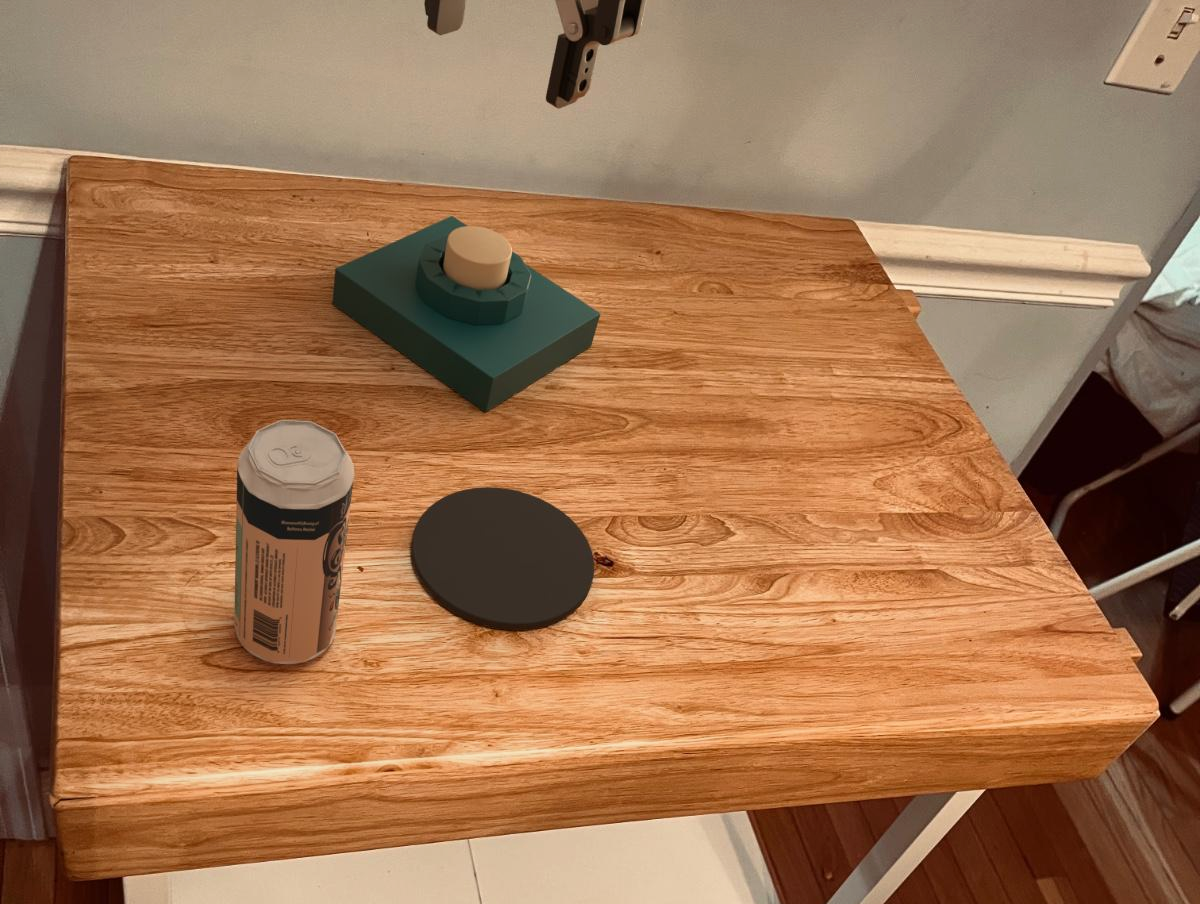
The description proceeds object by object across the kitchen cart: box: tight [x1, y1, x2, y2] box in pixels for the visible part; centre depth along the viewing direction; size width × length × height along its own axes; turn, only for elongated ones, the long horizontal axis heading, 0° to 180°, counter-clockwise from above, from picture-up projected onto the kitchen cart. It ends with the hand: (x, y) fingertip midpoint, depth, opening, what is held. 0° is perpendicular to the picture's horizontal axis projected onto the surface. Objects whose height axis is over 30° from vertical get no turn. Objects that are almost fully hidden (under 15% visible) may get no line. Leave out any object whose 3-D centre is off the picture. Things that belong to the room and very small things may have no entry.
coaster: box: [410, 486, 596, 631], centre depth 64 cm, size 10×10×1 cm
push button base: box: [331, 215, 601, 413], centre depth 76 cm, size 13×11×4 cm
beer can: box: [233, 419, 355, 665], centre depth 54 cm, size 5×5×12 cm
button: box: [443, 225, 513, 290], centre depth 74 cm, size 4×4×2 cm
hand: (502, 65), depth 64 cm, fingers open, 8 cm apart
